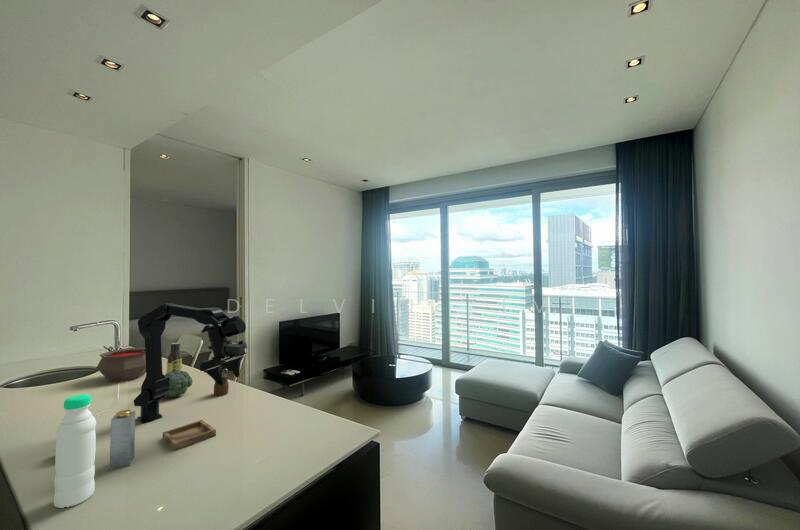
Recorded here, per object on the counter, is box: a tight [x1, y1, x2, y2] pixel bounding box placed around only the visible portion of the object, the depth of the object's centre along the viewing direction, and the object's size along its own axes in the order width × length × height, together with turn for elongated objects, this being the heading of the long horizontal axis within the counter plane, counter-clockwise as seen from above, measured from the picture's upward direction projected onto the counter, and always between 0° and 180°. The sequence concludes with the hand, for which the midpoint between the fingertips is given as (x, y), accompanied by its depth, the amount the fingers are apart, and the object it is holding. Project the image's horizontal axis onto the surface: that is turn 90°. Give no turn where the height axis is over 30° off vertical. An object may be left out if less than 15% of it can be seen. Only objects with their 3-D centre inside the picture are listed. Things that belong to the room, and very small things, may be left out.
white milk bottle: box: [53, 393, 97, 509], centre depth 79 cm, size 7×7×25 cm
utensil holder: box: [213, 368, 230, 397], centre depth 149 cm, size 6×6×12 cm
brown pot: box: [95, 346, 146, 383], centre depth 172 cm, size 24×24×16 cm
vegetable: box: [163, 370, 193, 400], centre depth 147 cm, size 12×13×15 cm
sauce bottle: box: [166, 342, 183, 373], centre depth 164 cm, size 7×6×20 cm
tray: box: [162, 419, 217, 452], centre depth 109 cm, size 12×12×2 cm
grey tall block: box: [109, 409, 136, 471], centre depth 94 cm, size 4×4×15 cm
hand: (230, 381), depth 120 cm, fingers open, 9 cm apart
